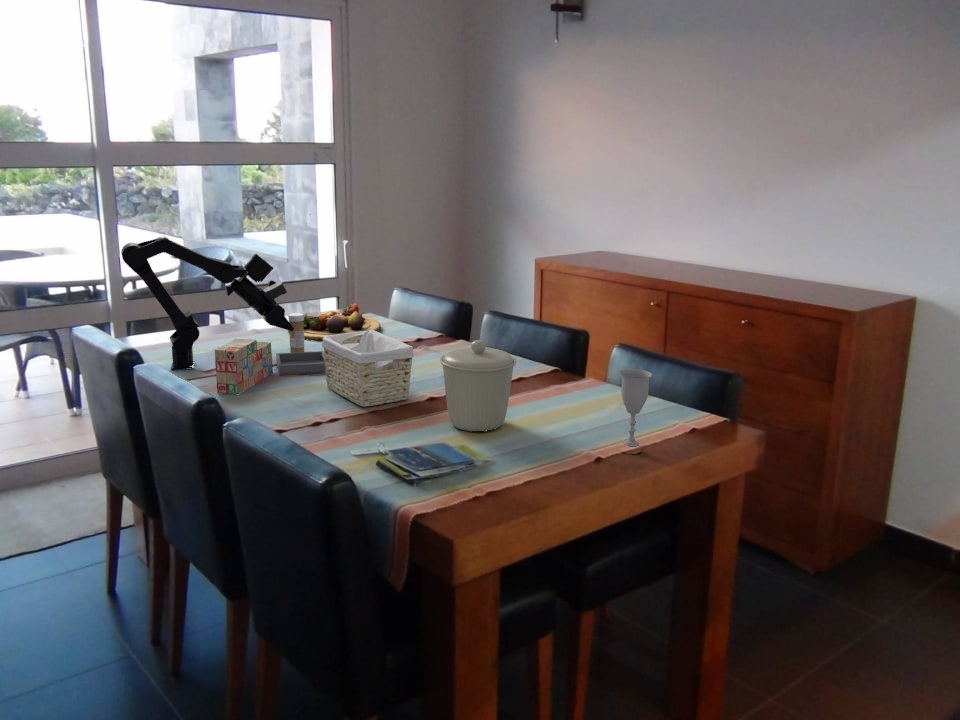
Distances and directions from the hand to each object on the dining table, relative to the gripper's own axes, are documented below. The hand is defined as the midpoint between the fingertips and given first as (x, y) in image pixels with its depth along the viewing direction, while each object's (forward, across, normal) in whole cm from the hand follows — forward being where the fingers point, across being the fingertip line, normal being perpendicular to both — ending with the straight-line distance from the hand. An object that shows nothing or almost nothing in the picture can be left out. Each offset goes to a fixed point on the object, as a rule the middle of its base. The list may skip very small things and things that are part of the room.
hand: (289, 326), depth 258 cm
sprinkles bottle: (+8, 0, +6) cm, 10 cm away
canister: (+27, -77, -13) cm, 83 cm away
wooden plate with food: (+23, +30, -8) cm, 39 cm away
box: (+7, -13, +6) cm, 16 cm away
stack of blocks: (-5, -22, +19) cm, 30 cm away
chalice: (+45, -105, -31) cm, 118 cm away
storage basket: (+15, -44, -1) cm, 46 cm away
